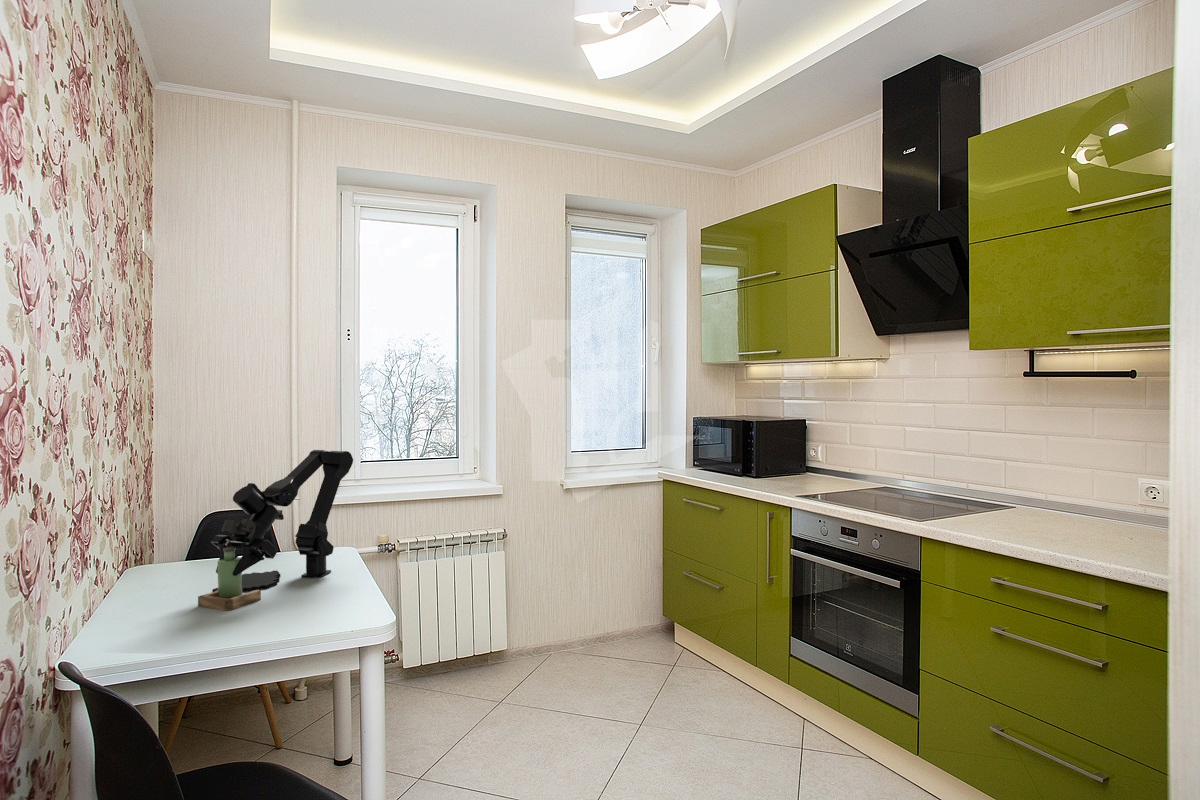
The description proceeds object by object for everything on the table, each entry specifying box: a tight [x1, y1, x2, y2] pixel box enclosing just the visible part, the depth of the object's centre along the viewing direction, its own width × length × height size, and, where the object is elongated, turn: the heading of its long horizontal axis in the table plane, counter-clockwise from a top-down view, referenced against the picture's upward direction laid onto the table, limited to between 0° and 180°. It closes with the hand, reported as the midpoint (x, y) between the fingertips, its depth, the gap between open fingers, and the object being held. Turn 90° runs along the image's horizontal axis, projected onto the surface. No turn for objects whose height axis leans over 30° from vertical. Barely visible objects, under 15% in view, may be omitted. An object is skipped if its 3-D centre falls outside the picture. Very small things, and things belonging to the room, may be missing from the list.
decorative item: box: [211, 570, 281, 593], centre depth 202 cm, size 23×2×20 cm
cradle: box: [197, 589, 262, 612], centre depth 183 cm, size 10×11×2 cm
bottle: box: [217, 546, 243, 599], centre depth 183 cm, size 6×6×13 cm
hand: (225, 574), depth 182 cm, fingers closed on bottle, 6 cm apart
